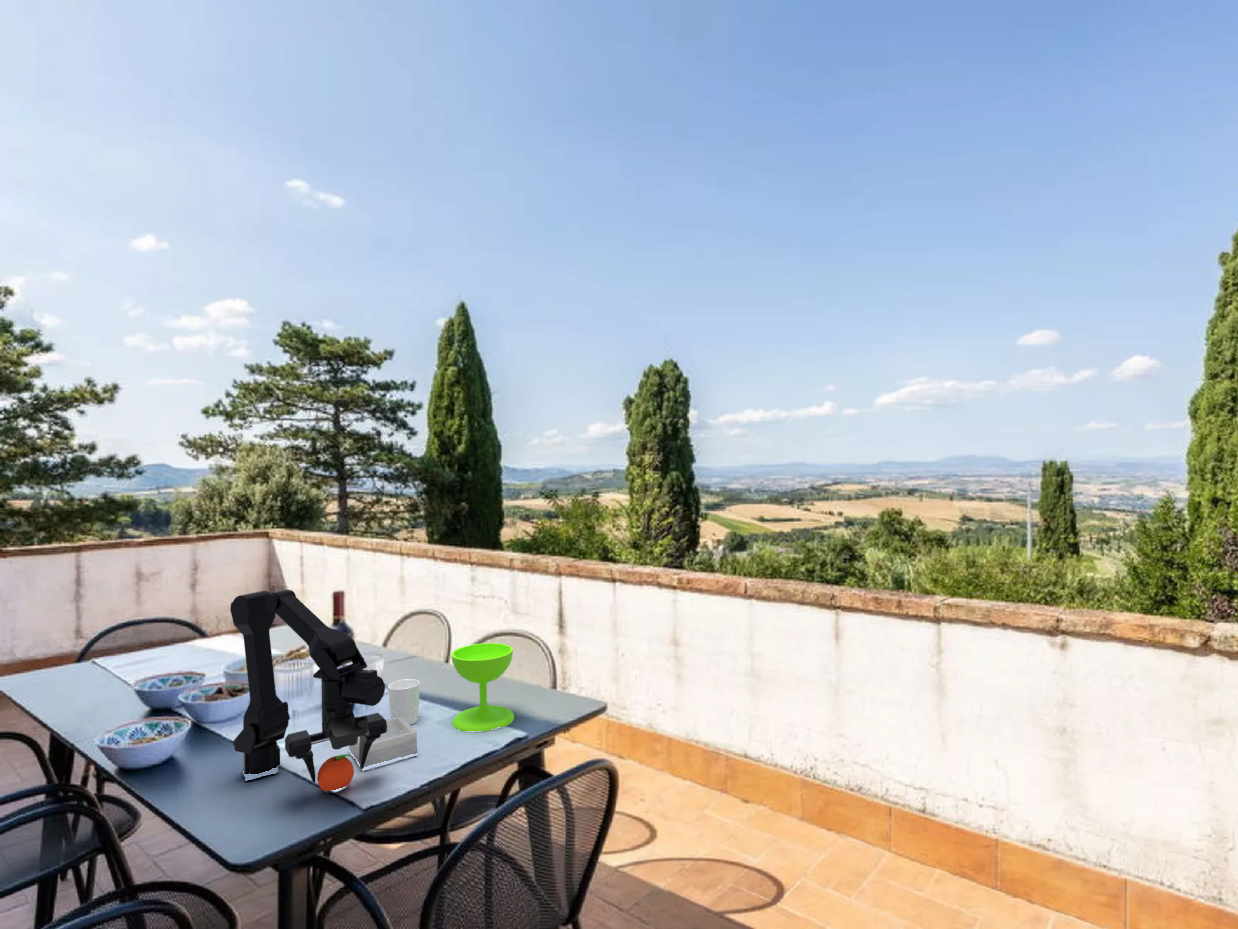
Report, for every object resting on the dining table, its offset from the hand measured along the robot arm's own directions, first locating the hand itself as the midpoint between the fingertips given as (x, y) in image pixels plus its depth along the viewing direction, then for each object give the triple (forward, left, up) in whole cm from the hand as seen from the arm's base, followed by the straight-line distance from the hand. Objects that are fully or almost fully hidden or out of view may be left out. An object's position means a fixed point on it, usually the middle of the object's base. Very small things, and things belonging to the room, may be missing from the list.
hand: (338, 775), depth 129 cm
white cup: (+22, +27, -3) cm, 35 cm away
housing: (+12, +11, -3) cm, 17 cm away
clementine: (0, 0, -3) cm, 3 cm away
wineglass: (+39, +15, -3) cm, 42 cm away
